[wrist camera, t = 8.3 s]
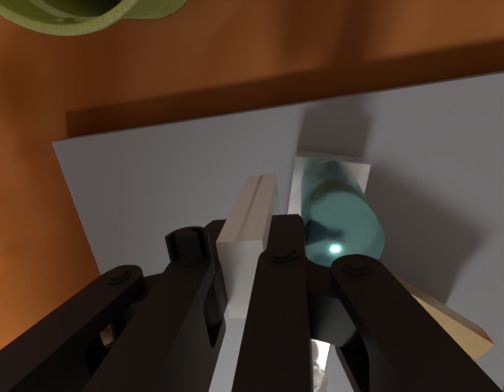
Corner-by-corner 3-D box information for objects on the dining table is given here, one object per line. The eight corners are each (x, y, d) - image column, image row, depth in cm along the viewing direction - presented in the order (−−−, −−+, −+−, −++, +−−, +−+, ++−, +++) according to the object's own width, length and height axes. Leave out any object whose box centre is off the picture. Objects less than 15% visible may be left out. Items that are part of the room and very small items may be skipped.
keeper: (407, 340, 23) (429, 395, 19) (308, 281, 23) (310, 325, 19) (458, 294, 21) (494, 344, 17) (352, 229, 21) (365, 265, 17)
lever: (320, 390, 26) (328, 520, 18) (258, 379, 26) (241, 501, 19) (374, 158, 19) (423, 215, 11) (287, 148, 19) (279, 196, 12)
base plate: (488, 396, 26) (499, 415, 25) (156, 392, 31) (149, 407, 30) (527, 66, 18) (546, 66, 16) (66, 137, 23) (51, 142, 22)
